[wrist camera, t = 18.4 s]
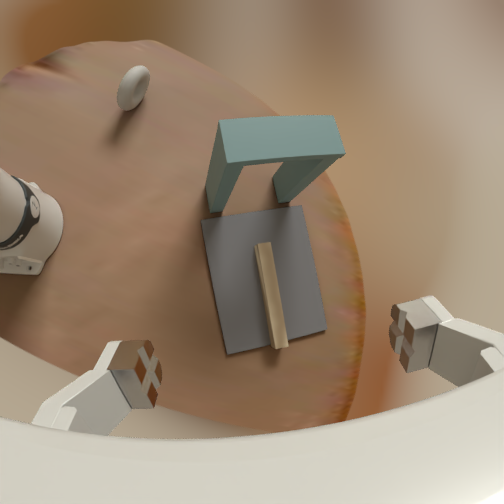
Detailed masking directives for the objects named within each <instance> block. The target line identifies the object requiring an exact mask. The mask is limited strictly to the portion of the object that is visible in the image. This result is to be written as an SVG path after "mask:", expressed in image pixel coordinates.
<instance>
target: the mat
mask: <svg viewBox="0 0 504 504" xmlns="http://www.w3.org/2000/svg"><path fill="white" fill-rule="evenodd" d="M201 225H202V231H203V237H204V242H205V248H206V253H207V258H208V264H209V269H210V274H211V279H212V284H213V290H214V295H215V300H216V304H217V309H218V314H219V319H220V324H221V329H222V333H223V338H224V343H225V347H226V352H227V355H228V354H232V353H237V352H241V351H245V350H250V349H254V348H258V347H262V346H266V345H270V344H271V342H270V336H269V330H268V324H267V318H266V313H265V307H264V301H263V295H262V289H261V284H260V278H259V272H258V266H257V260H256V255H255V249H254V246H255V245H257V244H259V243H266V242H271V247H272V253H273V258H274V264H275V269H276V275H277V281H278V287H279V292H280V298H281V304H282V310H283V316H284V322H285V328H286V334H287V340H290V339H294V338H297V337H301V336H305V335H308V334H312V333H316V332H319V331H323V330H326V329H327V325H326V319H325V314H324V309H323V303H322V298H321V293H320V288H319V283H318V278H317V273H316V268H315V264H314V259H313V254H312V249H311V245H310V240H309V236H308V231H307V227H306V222H305V218H304V214H303V210H302V205H300V206H292V207H285V208H278V209H271V210H264V211H257V212H250V213H243V214H236V215H230V216H223V217H217V218H211V219H205V220H201Z"/></svg>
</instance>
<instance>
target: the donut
mask: <svg viewBox="0 0 504 504" xmlns="http://www.w3.org/2000/svg"><path fill="white" fill-rule="evenodd" d="M149 81H150V74H149V71H148V69H147V68H146V67H144V66H135V67H133V68H132V69H130V70H129V71H128V72H127V73H126V74H125V76H124V77H123V79H122V81H121V83H120V85H119V88H118V92H117V103H118V105H119V107H120V108H121V109H123V110H127V111H128V110H131V109H133V108H135V107H136V106H137V105H138V104H139V103H140V102H141V100H142V99H143V97H144V95H145V93H146V91H147V88H148V85H149Z"/></svg>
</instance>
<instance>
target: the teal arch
mask: <svg viewBox="0 0 504 504" xmlns="http://www.w3.org/2000/svg"><path fill="white" fill-rule="evenodd" d="M345 154H346V153H345V150H344V147H343V144H342V141H341V138H340V134H339V131H338V128H337V125H336V122H335V119H334V116H330V115H329V116H328V115H325V116H323V115H321V116H320V115H319V116H318V115H317V116H315V115H311V116H310V115H309V116H308V115H306V116H271V117H252V118H238V119H226V120H219V122H218V129H217V133H216V138H215V142H214V147H213V151H212V156H211V160H210V165H209V170H208V175H207V180H206V184H205V187H206V193H207V198H208V204H209V210H210V213H215V212H222V211H223V209H224V207H225V205H226V203H227V201H228V198H229V196H230V194H231V192H232V190H233V188H234V185H235V183H236V181H237V179H238V177H239V175H240V173H241V170H242V168H243V166H246V165H256V164H265V163H276V162H283V164H282V165H281V166H280V168H279V169H278V170H277V172H276V173H275V174H274V176H273V182H274V186H275V190H276V195H277V199H278V203H285V202H290V201H291V200H292V199H293V198H294V197H296V196H297V195H298V194H299V193H300V192H301V191H302V190H303V189H305V188H306V187H307V186H308V185H309V184H310V183H311V182H312V181H313V180H315V179H316V178H317V177H318V176H319V175H320V174H321V173H322V172H324V171H325V170H326V169H327V168H328V167H329V166H330V165H331V164H333V163H334V162H335V161H336V160H337V159H338V158H341V157H342V156H344V155H345Z"/></svg>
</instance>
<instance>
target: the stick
mask: <svg viewBox="0 0 504 504" xmlns="http://www.w3.org/2000/svg"><path fill="white" fill-rule="evenodd" d="M254 249H255V255H256V260H257V266H258V272H259V278H260V284H261V289H262V295H263V301H264V307H265V313H266V318H267V324H268V330H269V336H270V342H271V347H273V348H274V349H279V348H283V347H288V340H287V334H286V328H285V322H284V316H283V310H282V304H281V298H280V292H279V287H278V281H277V275H276V269H275V264H274V258H273V253H272V247H271V242H266V243H259V244H257V245H255V246H254Z"/></svg>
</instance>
